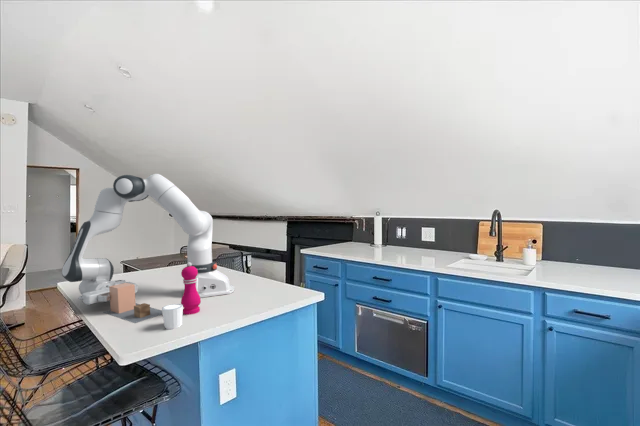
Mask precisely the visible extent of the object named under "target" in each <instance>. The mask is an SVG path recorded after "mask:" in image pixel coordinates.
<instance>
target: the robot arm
mask: <svg viewBox="0 0 640 426" xmlns="http://www.w3.org/2000/svg"><path fill="white" fill-rule="evenodd" d="M149 197H151V198H152V199H153V200H155V202H157V204H159V205H160V206H161V207H162V208H163V209H164V210H165V211H166V212H168V213H169V215H171V217H172V218H173V219H174V220H175V222H176V223H177V224H178V225H179V226H180V227H181V229H182V230H183V232H184V233H186V234H187V235H188V241H187V245H186V246H187V247H186V254H187V255H186V256H187V263H188V262H190V263H191V264H192V265H191V266H193V267H195V268H196V269H197V271H198V275H197V276H196V278H197V279H196V280H197V282H196V289H197V292H198V294H199V296H200V299H201V298H208V297H215V296H222V295H223V296H224V295H230V294H232V293H234V292H235V289H236V288H235V285H233V284H231V282H230V279H229V277H228V275H226V274H225V273H223V272H221V271H220V270H218V264H217V262H214V261H213V251H212V249H213V248H212V247H213V246H212V245H213V243H212V242H213V231H214V230H213V229H214V228H213V227H214V220H213V217H212V215H211V214H210V213H209V212H208V211H205V210H200V209H199V208H198V207H197V206H196V205H195V204H194V203H193V202H192V200H191V199H190V198H189V196H188V195H186V194H185V193H184V192H183V191H182V190H181V189H180V188H179V187H178V186H176V184H174V182H172V181H171V180H169V179H168V178H167V177H165V176H163V175H162V174H160V173H154V174H153V173H152V174H151V175H149V176H147V177H146V178H142V177H140V176H135V175H131V174H124V175H123V174H122V175H120V176H118V177H117V178H115V180H114V182H113V185H112V187H106V188H105V187H104V188H103V189H101V190H100V192H99V194H98V196H97V198H96V202H95V205H94V209H93V213H92V215H91V217H89V219H88V220H87V221H85V222H83V223H82V225H81V226H80V228H79V230H78V233H77V235H76V238H74V242H73V245H72V248H71V249H70V252H69V254H68V257H67V259H66V260H65V262H64V263H63V266H62V270H61V276H62V277H63V278H64V279H65V280H66V281H68V282H70V283H76V282H80V283H79V284H78V291H79V293H80V294H81V295H80V296H78V297H77V298H78V300H80V301H82V302H83V304H85V305H93V304H96V303H107V302H110V291H109V286H113V285H118V284H122V283H130V284H134V285H135V294H136V293H137V292H138V289H139V288H138V287H139V286H138V284H137V283H135V282H131V281H126V279H119V280H112V279H113V276H114V271H115V269H114V265H113V263H112V262H111V260H109V259H108V258H100V257H99V258H98V257H97V258H84V255H85V252H86V251H87V247H88V244H89V242H90V241H91V240H92V239H93V238H94V237H96V236H99V235H101V234H105V233H109V232H112V231H114V230H116V229H117V228H118V227H119V226H120V225H121V222H122V219H123V213H124V209H125V205H126V204H127V203H128V202H129V203H132V202H133V203H134V202H140V201H144V200H146V199H147V198H149Z"/></svg>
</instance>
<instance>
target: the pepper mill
mask: <svg viewBox="0 0 640 426" xmlns="http://www.w3.org/2000/svg"><path fill="white" fill-rule="evenodd" d="M191 265H192V264H191V263H190V262H188V261H187V263H186V266H185V267H183V268H182V269H181V273H180V274H181V277H182V278H183V279H182V283H183V284H184V291H183V294H182V296H181V299H180V304H182V305H183V315H186V316H189V315H195V314H198V313H200V310H201V307H200V304H201V302H202V300H201V298H200V296H199V294H198V292H197V289H196V282H197V280H196V279H197V278H196V276H197V275H198V271H197V269H196V268H195V267H193V266H191Z"/></svg>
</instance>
